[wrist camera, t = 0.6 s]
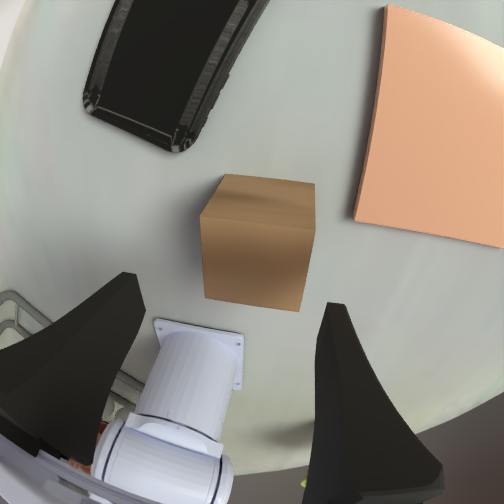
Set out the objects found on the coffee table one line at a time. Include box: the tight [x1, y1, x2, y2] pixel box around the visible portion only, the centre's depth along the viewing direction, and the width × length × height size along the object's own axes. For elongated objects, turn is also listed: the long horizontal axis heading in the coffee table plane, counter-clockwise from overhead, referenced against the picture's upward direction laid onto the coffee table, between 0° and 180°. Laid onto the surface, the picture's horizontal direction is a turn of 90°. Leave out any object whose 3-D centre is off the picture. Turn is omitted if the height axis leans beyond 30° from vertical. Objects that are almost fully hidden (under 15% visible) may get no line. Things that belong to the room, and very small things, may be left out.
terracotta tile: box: [353, 4, 504, 248], centre depth 13 cm, size 12×12×1 cm
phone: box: [83, 0, 270, 152], centre depth 12 cm, size 8×1×15 cm
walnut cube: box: [200, 174, 315, 312], centre depth 17 cm, size 5×5×5 cm
